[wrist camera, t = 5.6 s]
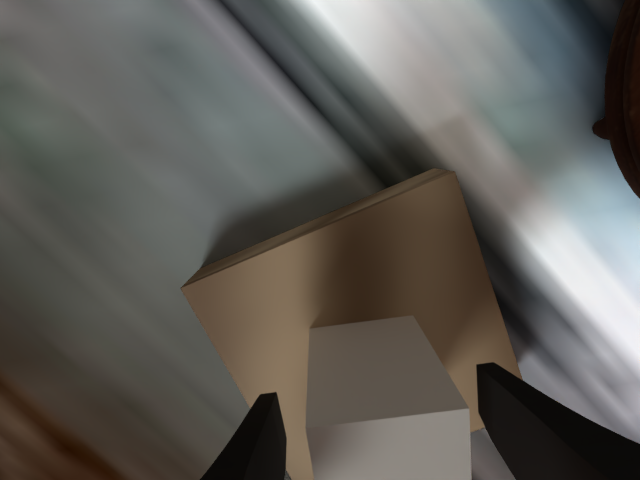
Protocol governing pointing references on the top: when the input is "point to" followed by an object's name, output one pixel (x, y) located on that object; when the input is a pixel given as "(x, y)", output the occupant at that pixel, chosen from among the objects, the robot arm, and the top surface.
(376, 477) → the ceramic block
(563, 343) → the top surface
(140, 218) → the top surface
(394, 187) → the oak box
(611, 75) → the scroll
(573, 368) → the top surface
